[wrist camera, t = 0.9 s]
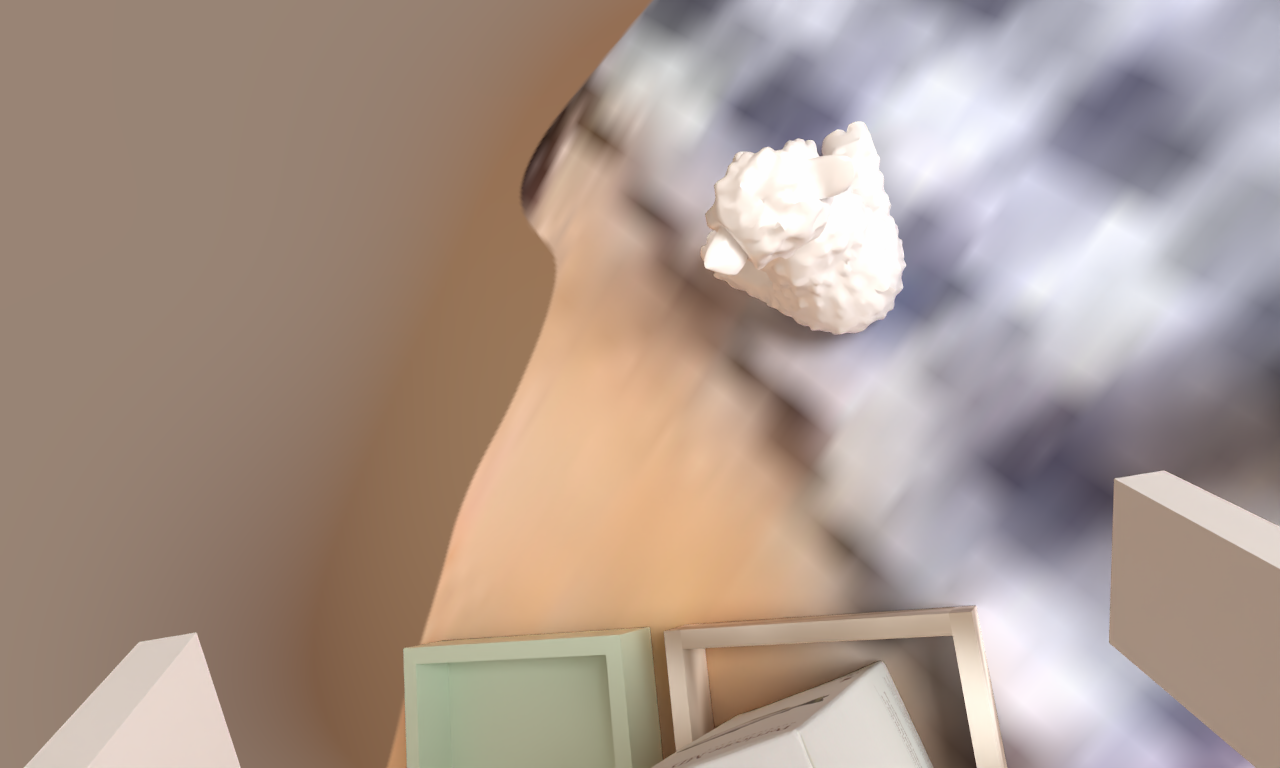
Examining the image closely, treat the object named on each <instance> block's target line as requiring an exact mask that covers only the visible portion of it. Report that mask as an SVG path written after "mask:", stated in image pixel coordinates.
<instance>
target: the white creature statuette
mask: <svg viewBox="0 0 1280 768" xmlns="http://www.w3.org/2000/svg"><path fill="white" fill-rule="evenodd" d="M822 154H823V156H820V157H819V155H818V153H817V147H816V144H815V142H814V141H812V140H807V141H805V142H804V140H803V139H799V138H798V139H796V140H794V141H790V140H789V141H788V142H787V143H786V144H785V146H784V148H783V149H782V150H777V151H775V150H773V149H772V148H770V147H766V148H763V149H761V150H760V151H759V152H758V153H752V152H738V153H737V154H735V156H734V158H733V162H732V163H731V164H730V165H729V166H728V169H727V172H726V175H725V177H724V178H722V179H721V180H719V181H717V183H716V184H715V185H714V188H715V196H716V198H715V202H714V205H713V206H712V207H711V208H710V209H709V211H708V212H707V213H706V214H705V216H706V221H707V226H708V227H709V228H711V229H713V231H712V232H711V233H709V235H708V236H707V239H706V240H707V244H706V245H705V246H702V248H701V253H700V254H701V258H702V260H703V261H704V266H705V268H706V269H709V270H712V271H714V274H713V276H714V277H715V278H717V279H720V280H723V281H727V283H728V284H729V285H730V286H731V287H733V288H734V289H738V290H742V291H746V292H747V293H748V294H749V296H752V297H755V298H757V299H760V300H761V301H763V302H766V304H767V306H769V307H772V308H775V309H777V310H778V311H780V312H781V313H783V314H784V315H786V316H790V317H793V319H794V320H795V321H796V322H797V323H798V324H801V325H803V326H810V329H811V330H812V331H815V330H822V331H824V332H831V333H832V334H835V335H839V334H844V333H858V332H861V331H863V330H865V329H866V328H867V327H868V325H870V324H871V323H873V322H875V321H877V320H882V319H884V318H885V317H886V315H887V312H888V311H890V310H893V307H894V300H895V297H896V295H897V294H898V293H900V292H901V290H902V288H903V284H902V279H901V276H902V271H903V270H904V268H905V267H906V263H905V261H904V260H903V259H904V252H903V248H902V240H901V239H899V238H898V226H897V225H896V224H895V222H894V219H893V217H891V216H890V213H889V211H890V208H891V204H890V201H889V197H888V195H887V194H886V193H885V191H884V177H883V174H882V173H881V172H880V170H879V164H880V157H879V156H878V155H877V152H876V149H875V147H874V144H873V142H872V138H871V134H870V132H869V130H868V128H867V126H866V124H865V123H863V122H853V123H851V124H849V125H848V129H847V132H845V131H843V130H840V129H838V130H836V131H834V132H832V133H831V134H829V135H828V136H827V137H826V138H825V139H824V140H823V145H822Z"/></svg>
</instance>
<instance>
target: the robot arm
mask: <svg viewBox="0 0 1280 768" xmlns="http://www.w3.org/2000/svg"><path fill="white" fill-rule="evenodd" d="M1109 643H1110V644H1111V645H1112V646H1114V647H1115V648H1116V649H1117V650H1118V651H1119V652H1121V653H1122V654H1123V655H1124V656H1125V657H1126V658H1128V659H1129V660H1130V661H1131V662H1132V663H1134V664H1135V665H1136V666H1137V667H1138V668H1139V669H1141V670H1142V671H1143V672H1144V673H1145V674H1146V675H1148V676H1149V677H1150V678H1151V679H1152V680H1154V681H1155V682H1156V683H1157V684H1158V685H1159V686H1161V687H1162V688H1163V689H1164V690H1165V691H1166V692H1168V693H1169V694H1170V695H1171V696H1172V697H1173V698H1175V699H1176V700H1177V701H1178V702H1179V703H1181V704H1182V705H1183V706H1184V707H1185V708H1186V709H1188V710H1189V711H1190V712H1191V713H1192V714H1193V715H1195V716H1196V717H1197V718H1198V719H1199V720H1201V721H1202V722H1203V723H1204V724H1205V725H1206V726H1208V727H1209V728H1210V729H1211V730H1212V731H1213V732H1215V733H1216V734H1217V735H1218V736H1219V737H1221V738H1222V739H1223V740H1224V741H1225V742H1226V743H1228V744H1229V745H1230V746H1231V747H1232V748H1233V749H1235V750H1236V751H1237V752H1238V753H1239V754H1240V755H1242V756H1243V757H1244V758H1245V759H1246V760H1248V761H1249V762H1250V763H1251V764H1252V765H1253V766H1255V767H1256V768H1280V526H1278V525H1276V524H1274V523H1272V522H1269V521H1267V520H1265V519H1263V518H1261V517H1259V516H1257V515H1255V514H1253V513H1251V512H1249V511H1247V510H1245V509H1243V508H1241V507H1239V506H1237V505H1234V504H1232V503H1230V502H1228V501H1226V500H1224V499H1222V498H1220V497H1218V496H1216V495H1214V494H1212V493H1210V492H1208V491H1206V490H1204V489H1202V488H1199V487H1197V486H1195V485H1193V484H1191V483H1189V482H1187V481H1185V480H1183V479H1181V478H1179V477H1177V476H1175V475H1173V474H1171V473H1169V472H1167V471H1164V470H1163V471H1157V472H1151V473H1145V474H1139V475H1133V476H1127V477H1121V478H1115V479H1114V502H1113V534H1112V566H1111V598H1110V630H1109ZM24 768H241V767H240V764H239V761H238V758H237V756H236V752H235V749H234V746H233V743H232V740H231V737H230V734H229V731H228V728H227V725H226V721H225V719H224V715H223V712H222V709H221V706H220V703H219V700H218V697H217V694H216V691H215V688H214V685H213V682H212V679H211V676H210V672H209V670H208V666H207V663H206V660H205V657H204V654H203V651H202V648H201V645H200V642H199V639H198V636H197V633H190V634H184V635H178V636H172V637H167V638H161V639H155V640H149V641H143V642H139V643H138V644H137V645H136V646H135V647H134V648H133V649H132V650H131V651H130V652H129V654H128V655H127V656H126V657H125V658H124V659H123V660H122V661H121V662H120V664H118V666H117V667H116V668H115V669H114V670H113V671H112V672H111V673H110V674H109V675H108V677H107V678H106V679H105V680H104V681H103V682H102V683H101V684H100V685H99V686H98V687H97V688H96V690H95V691H94V692H93V693H92V694H91V695H90V696H89V697H88V698H87V699H86V701H85V702H84V703H83V704H82V705H81V706H80V707H79V708H78V709H77V710H76V712H75V713H74V714H73V715H72V716H71V717H70V718H69V719H68V720H67V721H66V722H65V723H64V725H63V726H62V727H61V728H60V729H59V730H58V731H57V732H56V733H55V734H54V735H53V736H52V738H51V739H50V740H49V741H48V742H47V743H46V744H45V745H44V746H43V747H42V748H41V750H40V751H39V752H38V753H37V754H36V755H35V756H34V757H33V758H32V759H31V760H30V762H29V763H28V764H27V765H26V766H25V767H24Z"/></svg>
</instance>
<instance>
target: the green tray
mask: <svg viewBox="0 0 1280 768" xmlns="http://www.w3.org/2000/svg"><path fill="white" fill-rule="evenodd" d="M403 653H404V654H403V655H404V689H405V723H406V757H407V768H651V767H653V766H655V765H656V764H658V763H659V762H661V761H662V760H663V754H662V743H661V733H660V723H659V713H658V703H657V693H656V683H655V673H654V663H653V652H652V642H651V632H650V627H642V628H627V629H611V630H596V631H581V632H566V633H550V634H535V635H520V636H505V637H490V638H474V639H459V640H444V641H438V642H433V643H428V644H423V645H417V646H412V647H407V648H403Z"/></svg>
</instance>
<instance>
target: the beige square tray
mask: <svg viewBox="0 0 1280 768" xmlns="http://www.w3.org/2000/svg"><path fill="white" fill-rule="evenodd" d="M934 636H953V640H954V646H955V651H956V657H957V662H958V667H959V673H960V678H961V684H962V689H963V695H964V700H965V706H966V711H967V717H968V722H969V727H970V733H971V738H972V744H973V749H974V755H975V760H976V766H977V768H1007V763H1006V758H1005V753H1004V748H1003V743H1002V737H1001V732H1000V727H999V722H998V716H997V711H996V706H995V701H994V696H993V690H992V685H991V680H990V675H989V669H988V664H987V659H986V654H985V649H984V643H983V638H982V633H981V628H980V622H979V617H978V612H977V607H976V606H962V607H947V608H931V609H916V610H901V611H886V612H870V613H855V614H840V615H825V616H810V617H794V618H779V619H764V620H749V621H733V622H718V623H703V624H688V625H683V626H680V627H676V628H673V629H669V630H666V631H664V639H665V649H666V659H667V668H668V678H669V688H670V698H671V707H672V717H673V727H674V737H675V746H676V752H677V751H678V750H680V749H682V748H683V747H685V746H687V745H688V744H690V743H692V742H693V741H695V740H697V739H698V738H700V737H702V736H703V735H705V734H706V733H708V732H710V731H712V730H713V729H714V722H713V713H712V704H711V696H710V687H709V678H708V669H707V660H706V652H705V648H719V647H738V646H758V645H777V644H797V643H816V642H836V641H856V640H875V639H895V638H914V637H934Z"/></svg>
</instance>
